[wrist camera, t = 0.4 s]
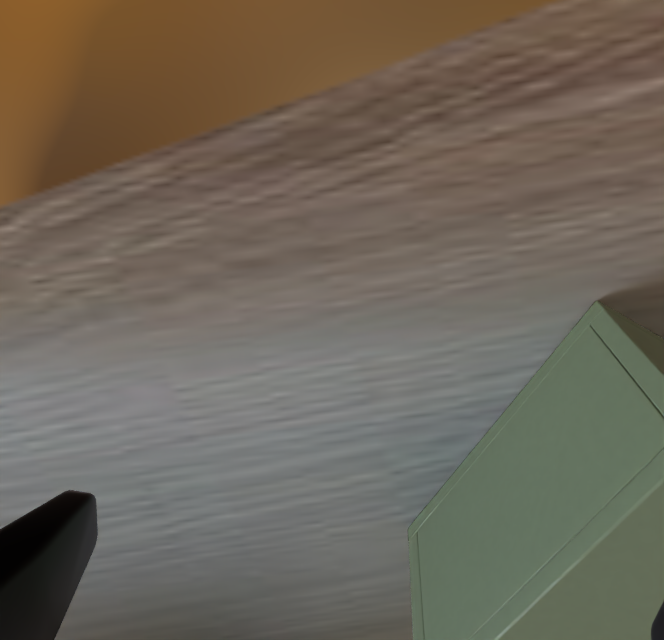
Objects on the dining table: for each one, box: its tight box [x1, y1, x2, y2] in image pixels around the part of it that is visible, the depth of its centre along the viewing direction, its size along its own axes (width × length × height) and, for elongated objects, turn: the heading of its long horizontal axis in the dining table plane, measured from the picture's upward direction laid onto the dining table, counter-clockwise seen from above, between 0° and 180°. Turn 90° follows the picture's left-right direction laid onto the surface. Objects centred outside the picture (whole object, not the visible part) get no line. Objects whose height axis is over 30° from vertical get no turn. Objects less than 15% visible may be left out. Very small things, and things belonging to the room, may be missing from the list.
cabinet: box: [408, 301, 664, 640], centre depth 21 cm, size 14×14×9 cm
